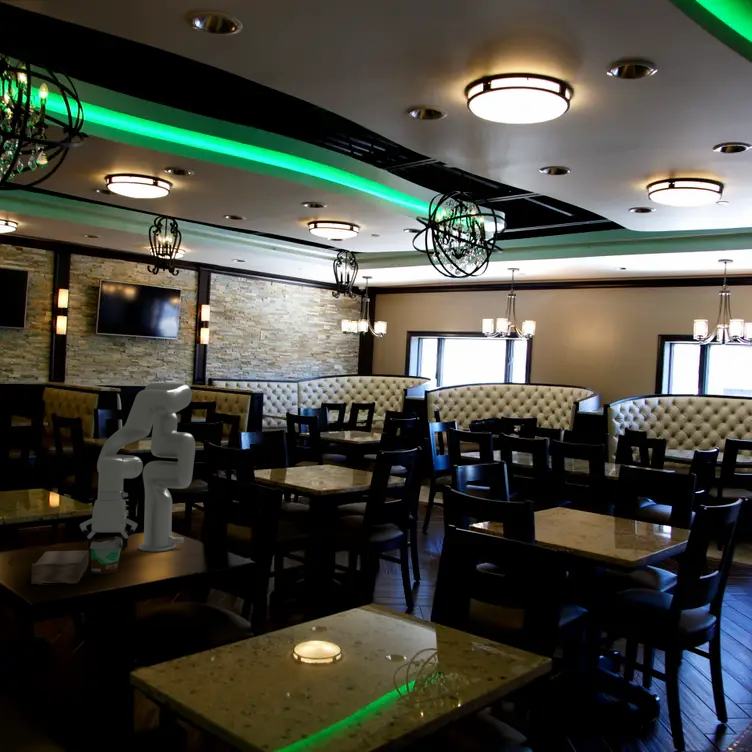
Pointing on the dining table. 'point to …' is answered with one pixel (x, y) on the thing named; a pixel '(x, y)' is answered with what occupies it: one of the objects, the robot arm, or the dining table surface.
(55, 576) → the brown rectangular block
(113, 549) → the food container
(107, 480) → the robot arm
